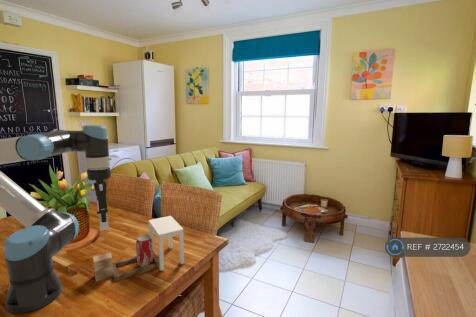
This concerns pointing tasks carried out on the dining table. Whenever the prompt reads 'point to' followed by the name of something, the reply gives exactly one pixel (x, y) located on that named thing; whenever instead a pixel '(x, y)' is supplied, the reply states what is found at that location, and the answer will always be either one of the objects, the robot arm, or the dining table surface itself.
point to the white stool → (166, 236)
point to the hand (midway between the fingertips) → (103, 222)
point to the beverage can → (144, 250)
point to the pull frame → (108, 269)
